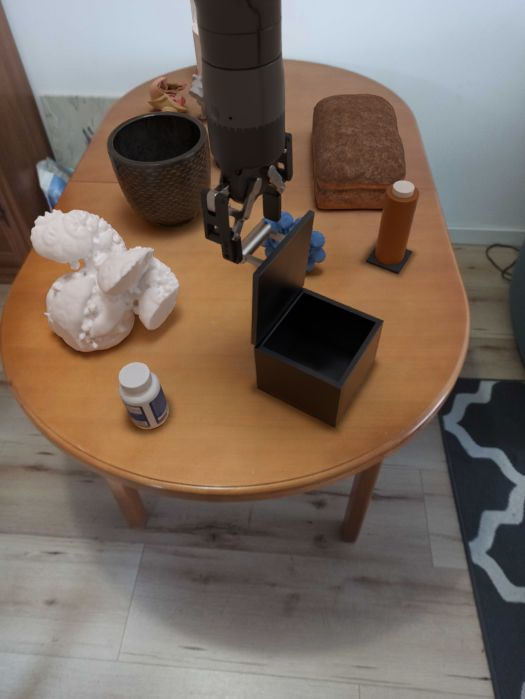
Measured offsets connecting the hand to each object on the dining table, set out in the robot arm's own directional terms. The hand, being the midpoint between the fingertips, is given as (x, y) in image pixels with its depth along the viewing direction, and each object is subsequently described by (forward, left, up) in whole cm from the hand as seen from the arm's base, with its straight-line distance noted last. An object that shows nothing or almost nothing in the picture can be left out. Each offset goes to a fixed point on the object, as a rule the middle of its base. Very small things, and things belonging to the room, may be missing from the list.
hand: (253, 238), depth 60 cm
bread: (+9, -50, -22) cm, 55 cm away
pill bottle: (+7, +18, -22) cm, 29 cm away
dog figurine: (+46, -54, -22) cm, 74 cm away
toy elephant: (+57, -50, -22) cm, 79 cm away
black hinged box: (-10, 0, -22) cm, 24 cm away
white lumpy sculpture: (+23, +6, -22) cm, 33 cm away
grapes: (+4, -16, -22) cm, 28 cm away
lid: (-4, 0, -5) cm, 7 cm away
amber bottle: (-9, -28, -21) cm, 37 cm away
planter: (+32, -20, -22) cm, 44 cm away
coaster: (-9, -28, -22) cm, 37 cm away
